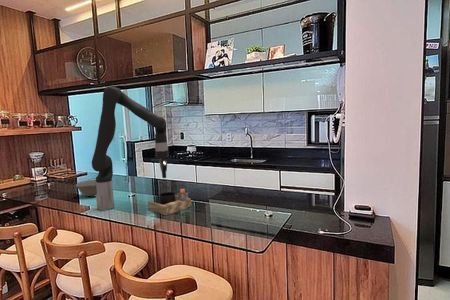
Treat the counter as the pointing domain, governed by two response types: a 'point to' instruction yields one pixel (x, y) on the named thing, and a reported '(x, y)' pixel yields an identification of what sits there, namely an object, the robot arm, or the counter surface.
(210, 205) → the counter surface
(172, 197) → the mug
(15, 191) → the counter surface
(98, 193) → the robot arm
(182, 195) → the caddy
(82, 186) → the ceramic bowl
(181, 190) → the button
